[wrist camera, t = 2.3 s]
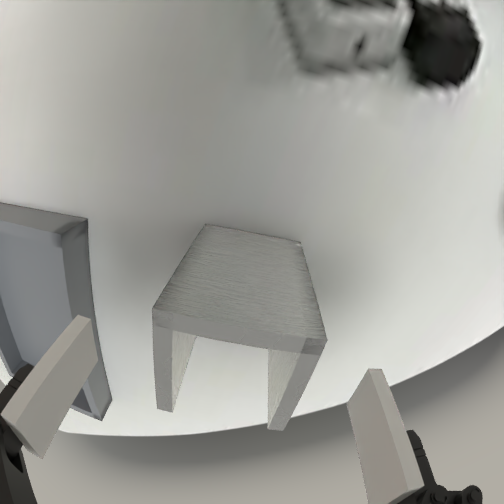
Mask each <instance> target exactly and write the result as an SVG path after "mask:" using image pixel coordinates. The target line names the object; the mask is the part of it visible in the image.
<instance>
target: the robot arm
mask: <svg viewBox="0 0 504 504" xmlns="http://www.w3.org/2000/svg"><path fill="white" fill-rule="evenodd" d="M97 362H98V356H97V351H96V346H95V341H94V335H93V329H92V323H91V319H90V318H87V317H83V316H80V315H77V316H76V317H75V318H74V320H73V321H72V322H71V323H70V324H69V325H68V327H67V328H66V329H65V330H64V331H63V332H62V334H61V335H60V336H59V337H58V338H57V340H56V341H55V342H54V343H53V344H52V346H51V347H50V348H49V349H48V351H47V352H46V353H45V354H44V356H43V357H42V358H41V359H40V361H39V362H38V363H37V364H36V366H35V367H34V366H32V365H30V364H26V365H25V366H23V367H22V368H20V369H19V370H18V371H17V372H16V374H15V375H14V376H13V379H11V380H10V381H9V383H8V385H6V387H5V388H4V389H3V391H2V392H1V393H0V504H37V501H36V498H35V496H34V493H33V490H32V487H31V483H30V480H29V477H28V473H27V469H26V465H25V461H24V457H23V453H22V451H21V447H22V445H24V446H25V448H26V449H27V450H28V451H29V452H31V453H32V454H34V455H36V456H37V457H39V458H41V459H43V457H44V455H45V453H46V451H47V449H48V447H49V445H50V443H51V441H52V439H53V438H54V435H55V434H56V432H57V430H58V428H59V426H60V425H61V423H62V421H63V419H64V417H65V416H66V414H67V412H68V410H69V408H70V407H71V405H72V403H73V401H74V400H75V398H76V396H77V395H78V393H79V391H80V390H81V388H82V386H83V385H84V383H85V381H86V380H87V378H88V376H89V375H90V373H91V371H92V370H93V368H94V366H95V365H96V363H97ZM347 407H348V412H349V416H350V420H351V424H352V428H353V432H354V437H355V441H356V445H357V449H358V454H359V459H360V464H361V468H362V473H363V478H364V483H365V488H366V493H367V498H368V504H482V492H481V490H480V489H479V488H478V487H477V486H474V485H471V486H469V487H467V488H465V489H464V490H462V491H447V490H446V488H444V487H443V486H441V485H437V484H436V482H435V480H434V476H433V473H432V471H431V468H430V465H429V462H428V459H427V457H426V456H425V455H426V454H425V451H424V449H423V445H422V443H421V440H420V438H419V437H418V436H417V434H416V433H415V432H414V431H413V430H409V431H406V429H405V426H404V424H403V421H402V419H401V416H400V413H399V411H398V408H397V406H396V403H395V400H394V398H393V395H392V393H391V390H390V388H389V386H388V383H387V381H386V378H385V376H384V374H383V371H382V369H368V370H367V372H366V374H365V375H364V377H363V379H362V380H361V382H360V384H359V385H358V387H357V389H356V390H355V392H354V393H353V395H352V397H351V398H350V400H349V401H348V403H347Z"/></svg>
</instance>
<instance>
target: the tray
mask: <svg viewBox="0 0 504 504" xmlns="http://www.w3.org/2000/svg"><path fill="white" fill-rule="evenodd" d="M77 315H80V316H83V317H87V318H90V319H91V323H92V329H93V335H94V341H95V346H96V351H97V356H98V362H97V363H96V365H95V366H94V368H93V370H92V371H91V373H90V375H89V376H88V378H87V380H86V381H85V383H84V385H83V386H82V388H81V390H80V391H79V393H78V395H77V396H76V398H75V400H74V401H73V403H72V405H71V407H70V408H72V409H74V410H76V411H78V412H81V413H83V414H85V415H88V416H90V417H93V418H95V419H98V420H100V421H102V420H103V418H104V416H105V414H106V412H107V409H108V407H109V405H110V403H111V401H112V397H111V393H110V389H109V385H108V381H107V377H106V373H105V368H104V364H103V359H102V354H101V349H100V344H99V338H98V332H97V326H96V320H95V313H94V305H93V297H92V289H91V278H90V266H89V251H88V222H87V219H85V218H80V217H75V216H69V215H64V214H59V213H53V212H48V211H43V210H37V209H32V208H26V207H21V206H16V205H10V204H5V203H0V356H1V359H2V361H3V363H4V365H5V367H6V369H7V371H8V373H9V375H10V376H12V377H13V376H14V375H15V374H16V372H17V371H18V370H19V369H20V368H22V367H23V366H25V365H26V364H30V365H32V366H34V367H35V366H36V364H37V363H38V362H39V361H40V359H41V358H42V357H43V356H44V354H45V353H46V352H47V351H48V349H49V348H50V347H51V346H52V344H53V343H54V342H55V341H56V340H57V338H58V337H59V336H60V335H61V334H62V332H63V331H64V330H65V329H66V328H67V327H68V325H69V324H70V323H71V322H72V321H73V320H74V318H75V317H76V316H77Z"/></svg>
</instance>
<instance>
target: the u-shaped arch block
mask: <svg viewBox="0 0 504 504" xmlns="http://www.w3.org/2000/svg"><path fill="white" fill-rule="evenodd" d="M152 318H153V355H154V374H155V389H156V401H157V409H161V410H164V411H168V412H173V409H174V406H175V403H176V399H177V396H178V393H179V389H180V386H181V383H182V380H183V376H184V373H185V370H186V367H187V364H188V361H189V357H190V354H191V351H192V348H193V345H194V342H195V339H196V336H200V337H205V338H210V339H215V340H220V341H225V342H231V343H236V344H242V345H248V346H254V347H260V348H266V349H269V359H268V429H271V430H282V431H283V430H284V428H285V426H286V425H287V423H288V421H289V419H290V417H291V415H292V413H293V411H294V409H295V408H296V406H297V404H298V402H299V400H300V398H301V396H302V394H303V392H304V390H305V388H306V386H307V384H308V381H309V379H310V377H311V375H312V373H313V371H314V369H315V367H316V364H317V362H318V360H319V358H320V356H321V353H322V351H323V349H324V347H325V344H326V342H327V337H326V333H325V329H324V325H323V321H322V317H321V314H320V310H319V306H318V302H317V299H316V295H315V291H314V288H313V284H312V281H311V277H310V273H309V270H308V266H307V263H306V260H305V256H304V253H303V249H302V246H301V243H300V242H298V241H293V240H287V239H282V238H277V237H272V236H267V235H262V234H257V233H251V232H246V231H241V230H236V229H230V228H225V227H220V226H214V225H209V224H205V225H204V227H203V228H202V230H201V231H200V233H199V234H198V236H197V238H196V239H195V241H194V242H193V244H192V245H191V247H190V248H189V250H188V251H187V253H186V255H185V256H184V258H183V259H182V261H181V262H180V264H179V266H178V267H177V269H176V270H175V272H174V274H173V275H172V277H171V278H170V280H169V282H168V283H167V285H166V287H165V288H164V290H163V292H162V293H161V295H160V296H159V298H158V300H157V301H156V303H155V305H154V307H153V308H152Z"/></svg>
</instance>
